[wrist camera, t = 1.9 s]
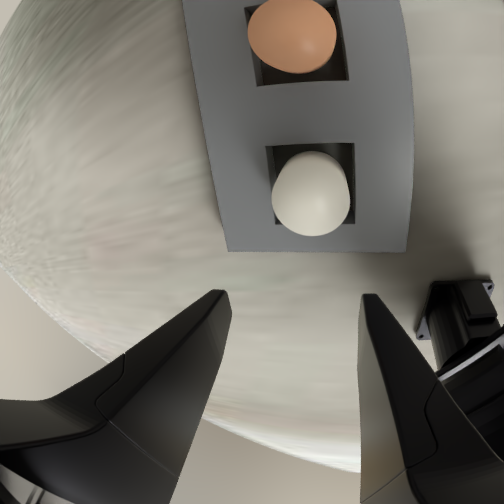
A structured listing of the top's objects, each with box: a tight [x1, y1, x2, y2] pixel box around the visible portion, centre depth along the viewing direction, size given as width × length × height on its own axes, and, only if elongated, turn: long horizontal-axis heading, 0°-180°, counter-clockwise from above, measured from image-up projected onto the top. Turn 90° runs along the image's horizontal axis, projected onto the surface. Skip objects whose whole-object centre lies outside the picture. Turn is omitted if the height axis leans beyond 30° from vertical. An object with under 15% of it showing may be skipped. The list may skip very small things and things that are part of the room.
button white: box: [271, 151, 350, 236], centre depth 15 cm, size 4×4×3 cm
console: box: [182, 0, 414, 253], centre depth 13 cm, size 26×12×2 cm, turn 8°
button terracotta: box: [248, 0, 336, 74], centre depth 11 cm, size 4×4×3 cm
